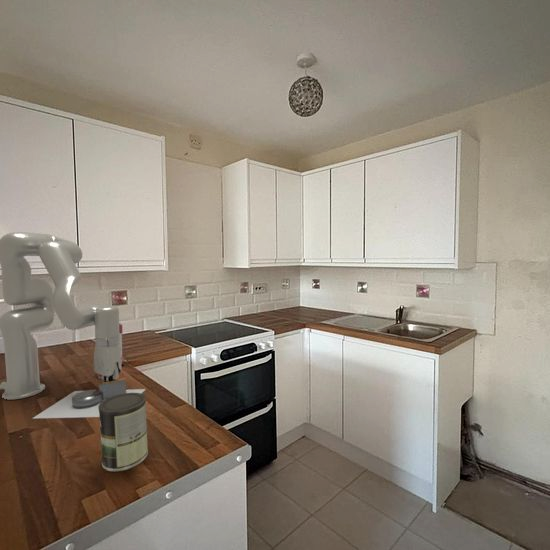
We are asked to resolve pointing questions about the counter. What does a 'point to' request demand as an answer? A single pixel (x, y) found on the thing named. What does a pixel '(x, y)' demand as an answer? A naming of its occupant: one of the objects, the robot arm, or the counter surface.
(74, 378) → the counter surface
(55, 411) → the white rectangular board
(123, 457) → the coffee can
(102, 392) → the grey rounded handled piece
